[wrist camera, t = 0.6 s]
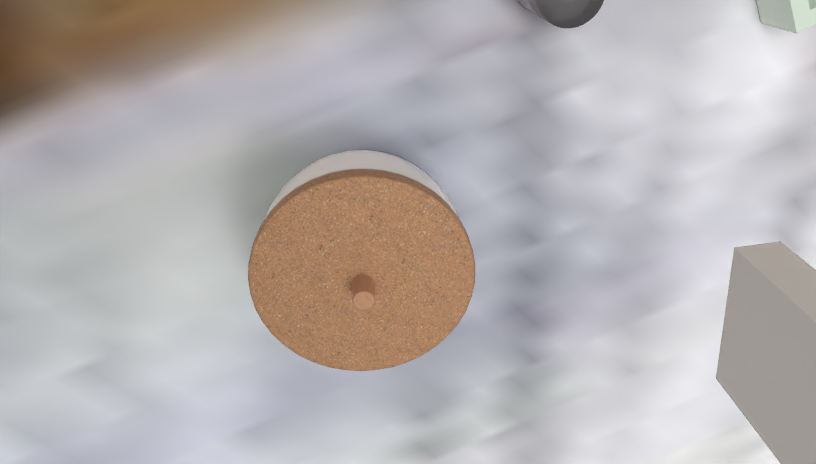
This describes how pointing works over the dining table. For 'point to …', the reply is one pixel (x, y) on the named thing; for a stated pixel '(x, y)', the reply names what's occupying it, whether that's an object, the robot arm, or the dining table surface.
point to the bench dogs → (564, 11)
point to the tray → (788, 14)
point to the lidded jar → (361, 263)
